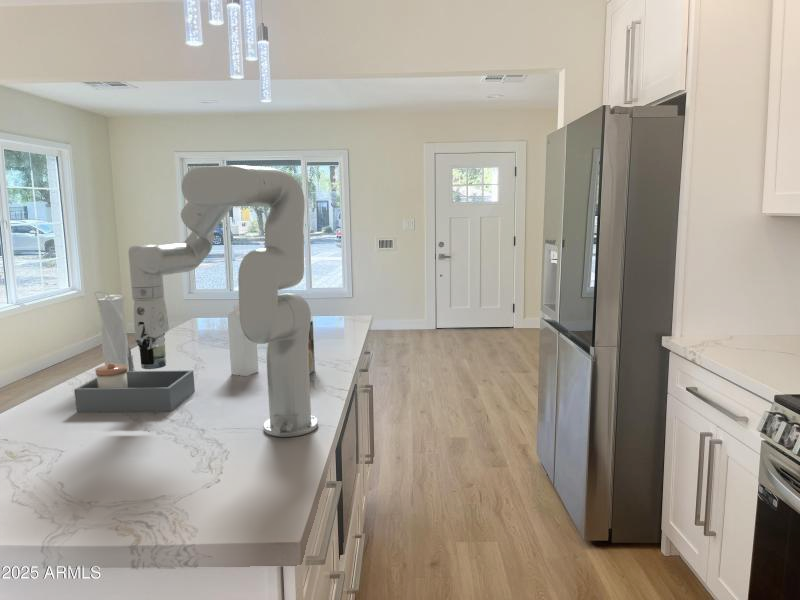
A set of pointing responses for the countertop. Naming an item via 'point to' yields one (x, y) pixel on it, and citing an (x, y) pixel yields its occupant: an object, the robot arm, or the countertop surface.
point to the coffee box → (311, 349)
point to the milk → (241, 347)
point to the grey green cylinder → (157, 353)
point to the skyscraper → (114, 331)
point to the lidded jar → (112, 376)
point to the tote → (138, 393)
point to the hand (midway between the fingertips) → (153, 360)
